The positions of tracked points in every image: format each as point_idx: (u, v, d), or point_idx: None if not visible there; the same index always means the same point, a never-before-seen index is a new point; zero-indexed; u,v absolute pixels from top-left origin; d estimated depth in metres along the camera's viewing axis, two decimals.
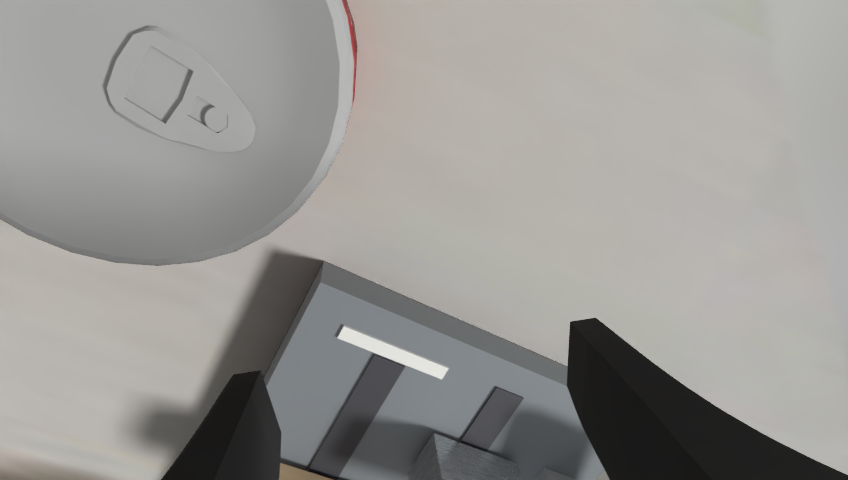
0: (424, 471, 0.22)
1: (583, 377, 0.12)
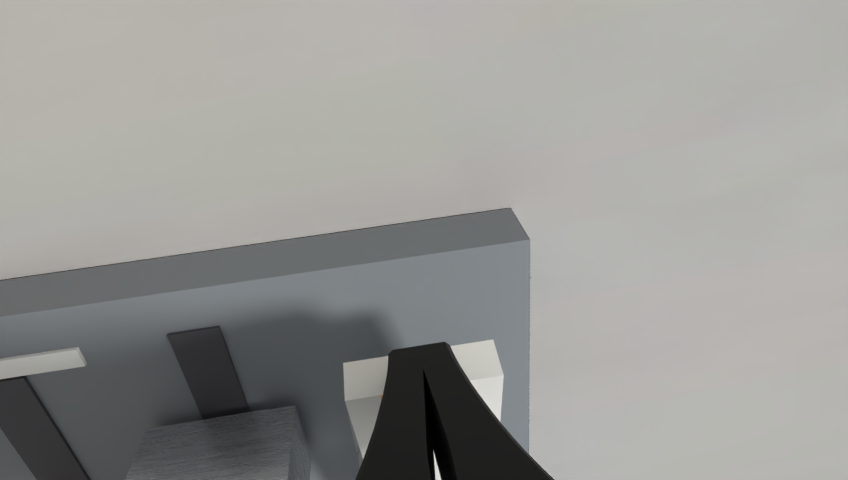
0: None
1: (427, 403, 0.12)
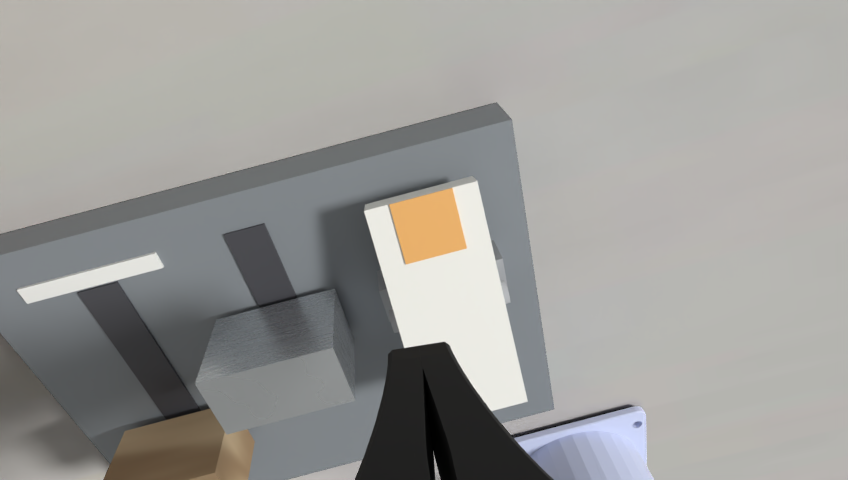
0: None
1: (427, 403, 0.12)
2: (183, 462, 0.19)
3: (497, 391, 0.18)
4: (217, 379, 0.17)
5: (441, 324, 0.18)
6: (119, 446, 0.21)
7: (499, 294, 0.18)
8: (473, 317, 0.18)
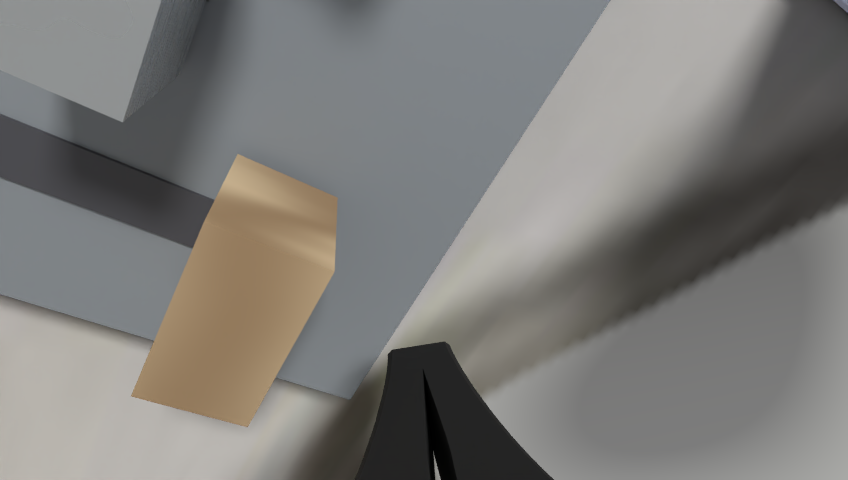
0: None
1: (427, 403, 0.12)
2: None
3: None
4: None
5: None
6: None
7: None
8: None
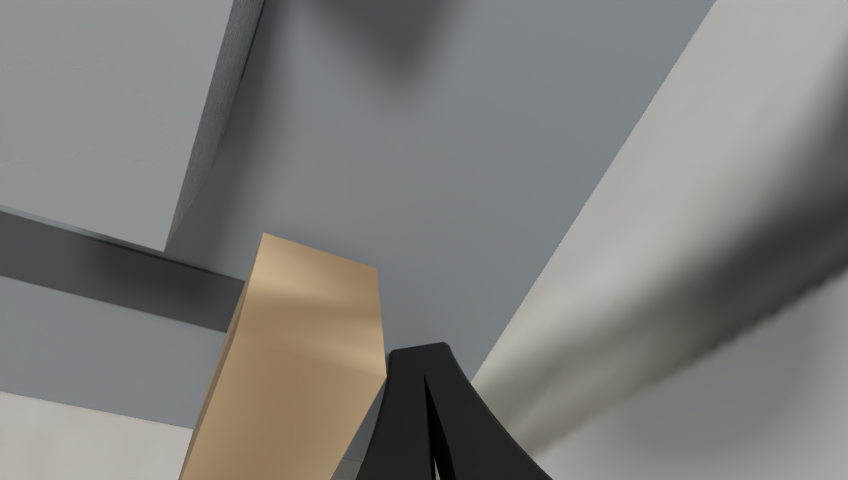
0: None
1: None
2: (220, 366, 0.09)
3: None
4: None
5: None
6: None
7: None
8: None
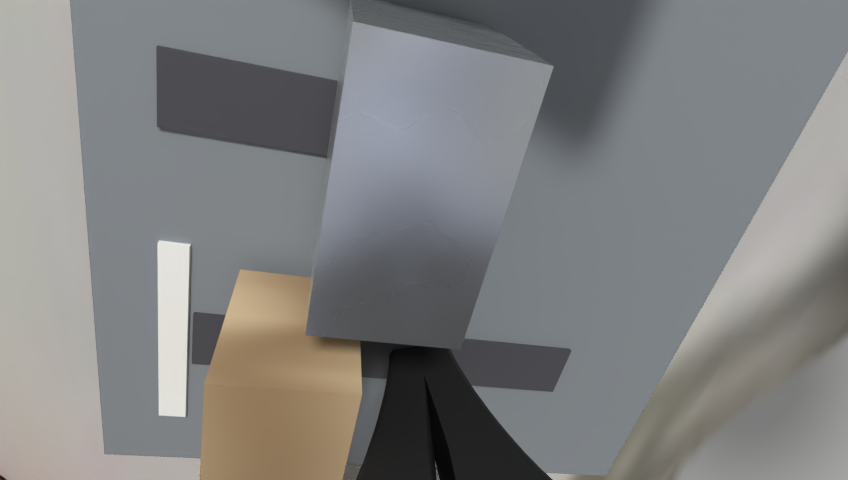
0: None
1: None
2: None
3: None
4: (317, 296, 0.08)
5: None
6: None
7: None
8: None
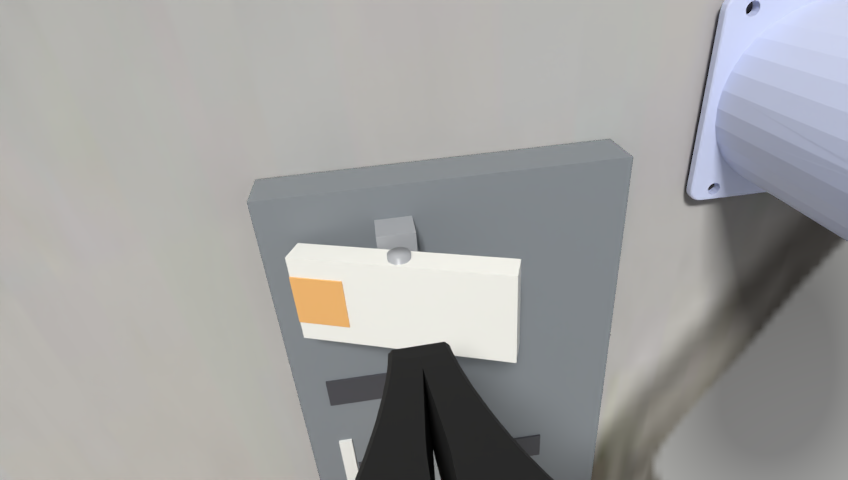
0: None
1: (427, 403, 0.12)
2: None
3: (495, 298, 0.17)
4: None
5: (410, 320, 0.19)
6: None
7: (393, 266, 0.18)
8: (409, 295, 0.18)
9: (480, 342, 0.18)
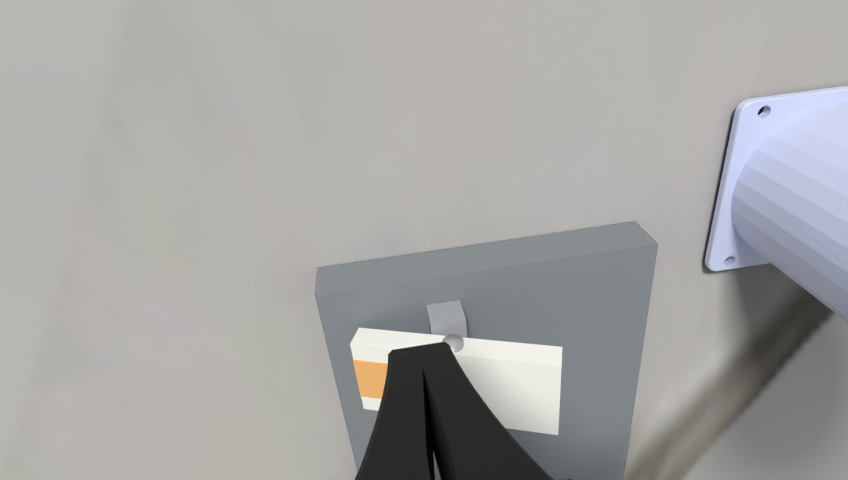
0: None
1: (427, 403, 0.12)
2: None
3: (541, 383, 0.20)
4: None
5: None
6: None
7: None
8: None
9: (525, 417, 0.21)
